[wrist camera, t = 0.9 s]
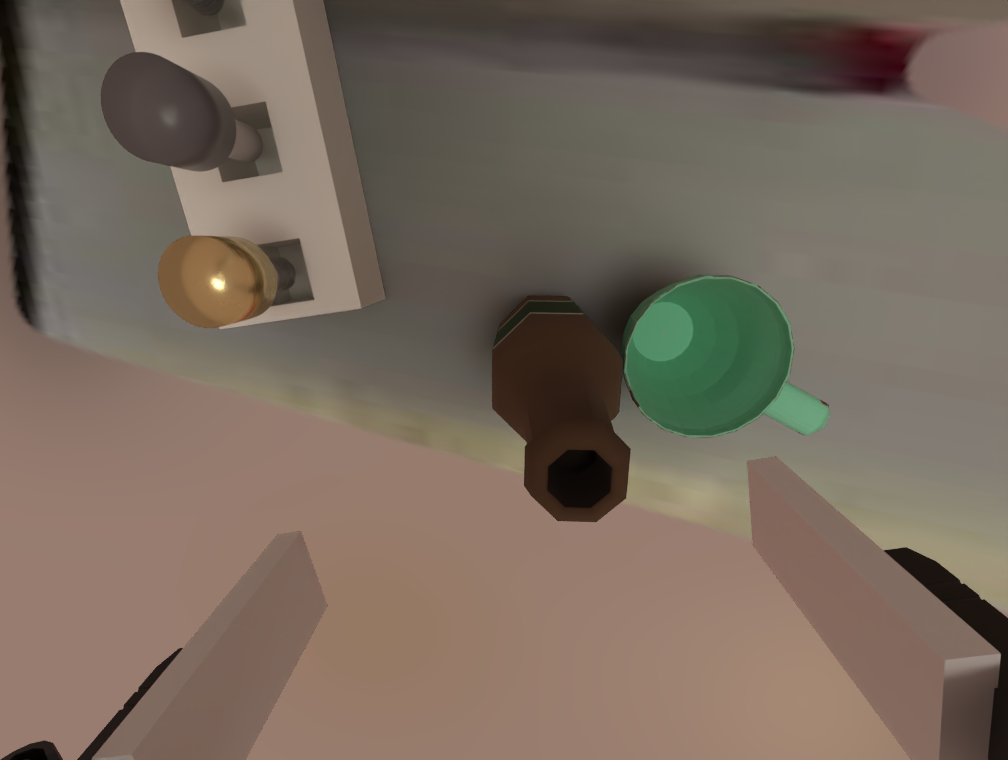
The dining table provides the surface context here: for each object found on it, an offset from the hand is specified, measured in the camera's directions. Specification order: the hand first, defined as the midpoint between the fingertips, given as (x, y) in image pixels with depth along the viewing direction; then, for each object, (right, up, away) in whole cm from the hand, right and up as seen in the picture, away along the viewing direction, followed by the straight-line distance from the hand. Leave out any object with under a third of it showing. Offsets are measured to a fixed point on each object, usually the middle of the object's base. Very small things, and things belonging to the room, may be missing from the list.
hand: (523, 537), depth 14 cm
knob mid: (-17, +19, +16) cm, 30 cm away
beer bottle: (+3, +8, +25) cm, 26 cm away
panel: (-16, +21, +22) cm, 34 cm away
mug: (+14, +7, +24) cm, 29 cm away
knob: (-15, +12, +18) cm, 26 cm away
